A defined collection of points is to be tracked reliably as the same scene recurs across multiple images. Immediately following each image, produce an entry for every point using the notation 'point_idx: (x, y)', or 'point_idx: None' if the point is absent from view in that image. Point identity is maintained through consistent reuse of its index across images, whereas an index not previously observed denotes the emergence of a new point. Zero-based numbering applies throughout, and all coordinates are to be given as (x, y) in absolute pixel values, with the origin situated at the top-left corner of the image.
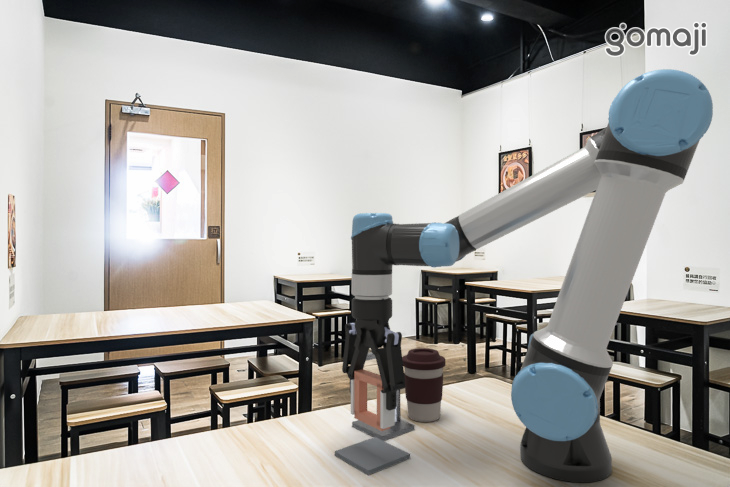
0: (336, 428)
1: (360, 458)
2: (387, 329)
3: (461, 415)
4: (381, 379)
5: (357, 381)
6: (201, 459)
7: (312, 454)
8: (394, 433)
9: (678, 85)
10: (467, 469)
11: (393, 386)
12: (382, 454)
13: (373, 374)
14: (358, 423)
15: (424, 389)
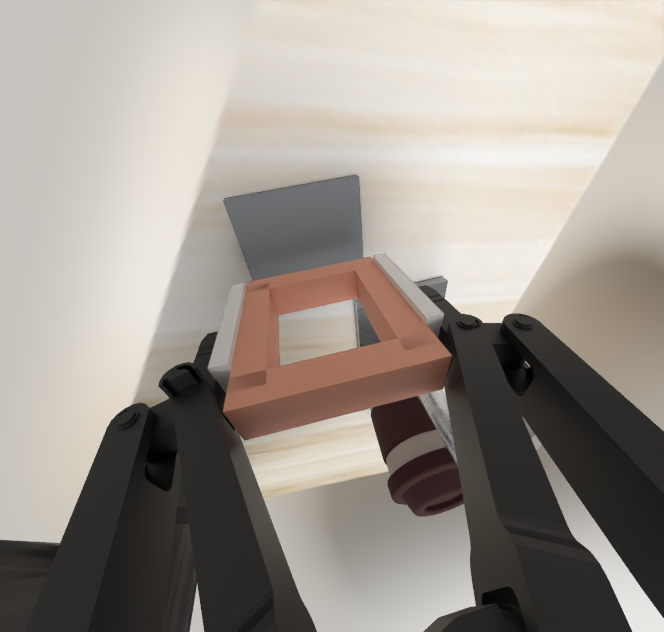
0: (460, 245)
1: (290, 215)
2: None
3: (358, 415)
4: (216, 417)
5: (404, 329)
6: None
7: (394, 120)
8: (357, 324)
9: None
10: (190, 362)
11: (117, 428)
12: (287, 267)
13: (342, 404)
14: (433, 288)
15: (387, 425)
